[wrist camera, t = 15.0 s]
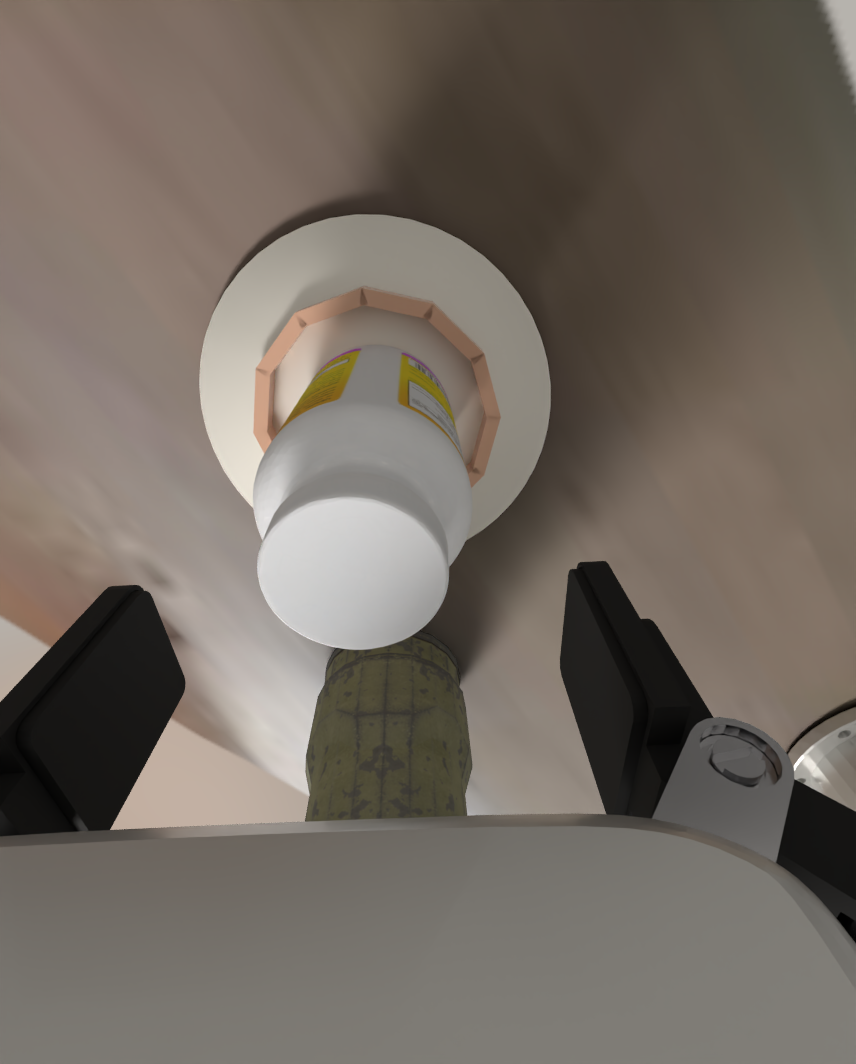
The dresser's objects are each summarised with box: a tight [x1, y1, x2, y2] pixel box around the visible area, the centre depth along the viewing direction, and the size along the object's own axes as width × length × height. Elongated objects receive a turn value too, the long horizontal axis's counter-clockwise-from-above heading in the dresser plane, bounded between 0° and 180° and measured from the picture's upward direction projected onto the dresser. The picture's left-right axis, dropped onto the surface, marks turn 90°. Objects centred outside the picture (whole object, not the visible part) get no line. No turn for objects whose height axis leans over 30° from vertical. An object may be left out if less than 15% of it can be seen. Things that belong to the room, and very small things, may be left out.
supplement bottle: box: [253, 345, 472, 650], centre depth 18 cm, size 7×7×13 cm
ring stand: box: [199, 214, 551, 540], centre depth 23 cm, size 16×16×2 cm
